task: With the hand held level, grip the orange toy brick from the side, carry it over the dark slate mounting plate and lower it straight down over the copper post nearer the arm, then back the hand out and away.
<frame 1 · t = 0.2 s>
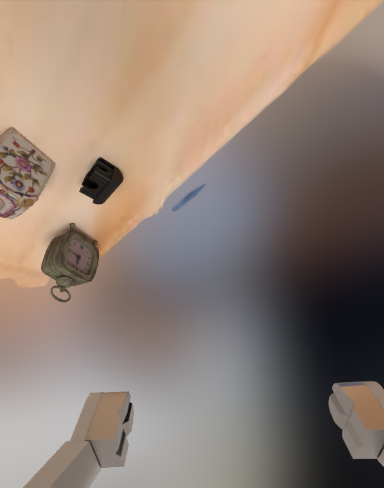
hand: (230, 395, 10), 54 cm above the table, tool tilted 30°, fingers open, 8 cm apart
tabletop clock: (79, 234, 85), on the table
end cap: (104, 174, 65), on the table
decorative jar: (21, 156, 60), on the table
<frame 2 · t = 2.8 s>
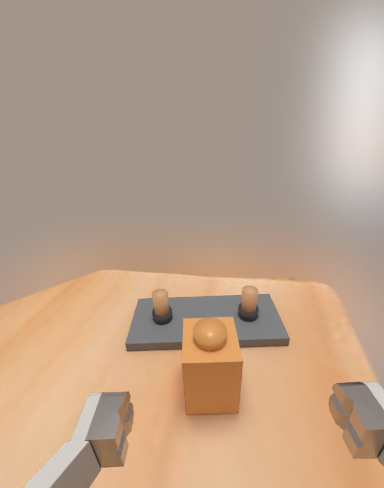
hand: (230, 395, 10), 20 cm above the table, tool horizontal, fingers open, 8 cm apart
mounting plate: (205, 322, 40), on the table
orange toy brick: (210, 388, 30), on the table
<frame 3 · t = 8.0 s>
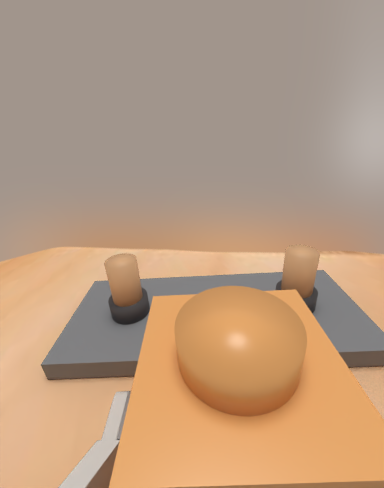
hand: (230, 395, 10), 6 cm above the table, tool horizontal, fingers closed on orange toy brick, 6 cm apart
mounting plate: (212, 320, 21), on the table
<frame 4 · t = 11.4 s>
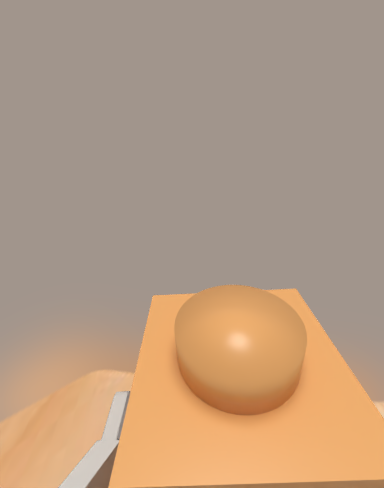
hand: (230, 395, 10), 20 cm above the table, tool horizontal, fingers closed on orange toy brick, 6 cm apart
when the fingers open (8 cm above the table, at t = 15.1 s): orange toy brick stays where it is, resting on mounting plate.
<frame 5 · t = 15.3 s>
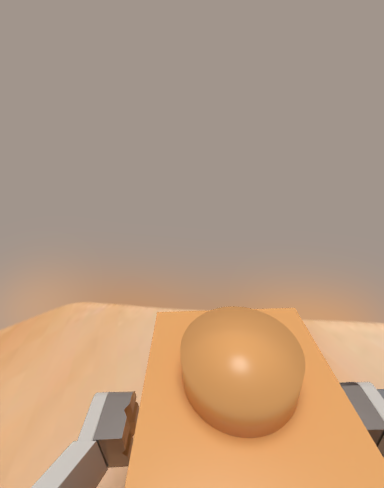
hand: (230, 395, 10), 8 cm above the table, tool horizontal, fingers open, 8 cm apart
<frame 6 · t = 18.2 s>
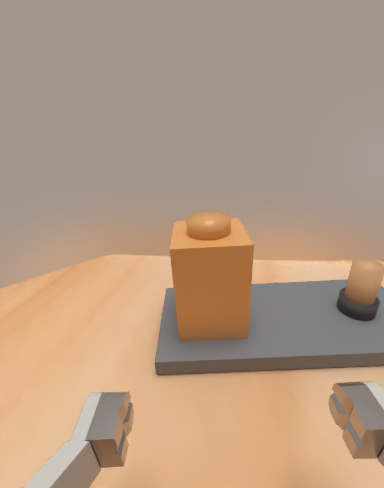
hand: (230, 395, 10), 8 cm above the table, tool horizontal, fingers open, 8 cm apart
mounting plate: (281, 324, 24), on the table
orange toy brick: (211, 315, 23), point 1 cm above the table, touching mounting plate
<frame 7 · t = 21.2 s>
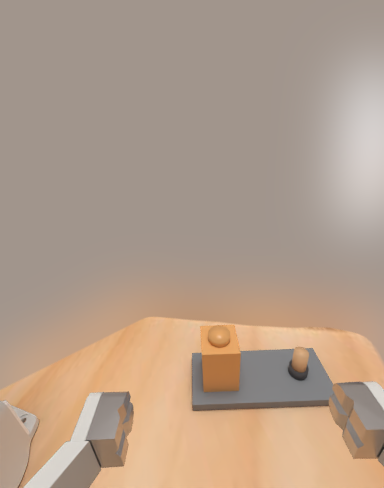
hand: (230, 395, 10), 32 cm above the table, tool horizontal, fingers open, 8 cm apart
mounting plate: (258, 379, 44), on the table
orange toy brick: (219, 375, 43), point 1 cm above the table, touching mounting plate
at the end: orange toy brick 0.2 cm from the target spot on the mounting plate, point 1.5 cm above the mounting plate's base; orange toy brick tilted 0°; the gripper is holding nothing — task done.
